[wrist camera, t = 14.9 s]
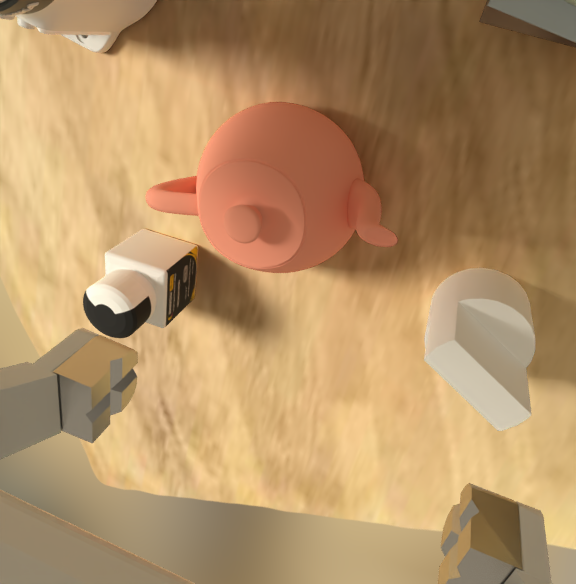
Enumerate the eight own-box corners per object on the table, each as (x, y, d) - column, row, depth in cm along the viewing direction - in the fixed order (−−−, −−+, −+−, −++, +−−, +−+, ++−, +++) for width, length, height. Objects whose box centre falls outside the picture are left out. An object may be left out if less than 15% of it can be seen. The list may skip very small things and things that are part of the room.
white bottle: (195, 298, 60) (137, 356, 50) (142, 280, 61) (75, 333, 51) (199, 244, 56) (137, 295, 46) (142, 226, 57) (70, 272, 47)
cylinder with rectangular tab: (411, 304, 51) (393, 375, 41) (485, 248, 46) (485, 315, 36) (473, 364, 52) (470, 448, 42) (552, 316, 47) (570, 399, 37)
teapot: (427, 104, 42) (409, 135, 32) (406, 268, 49) (386, 336, 39) (189, 92, 48) (110, 114, 38) (202, 239, 55) (138, 290, 45)
